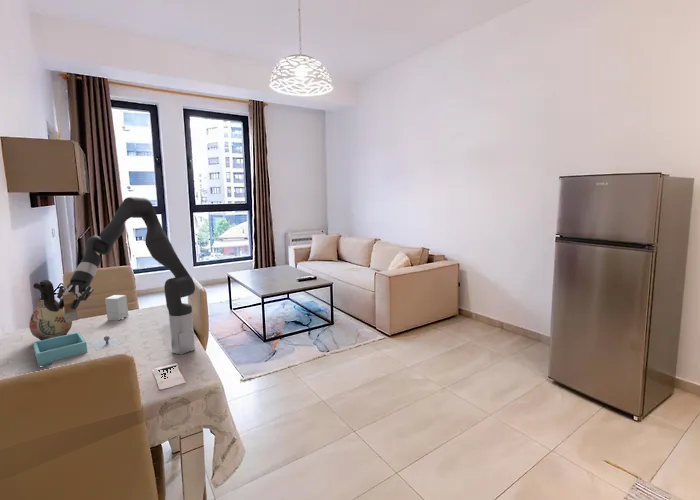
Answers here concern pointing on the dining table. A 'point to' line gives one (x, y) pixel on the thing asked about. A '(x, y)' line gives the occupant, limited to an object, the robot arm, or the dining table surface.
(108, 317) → the supplement box
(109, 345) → the stud plate
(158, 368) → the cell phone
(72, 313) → the walnut strut
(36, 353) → the teal bin
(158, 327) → the dining table surface
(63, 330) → the ceramic jug
